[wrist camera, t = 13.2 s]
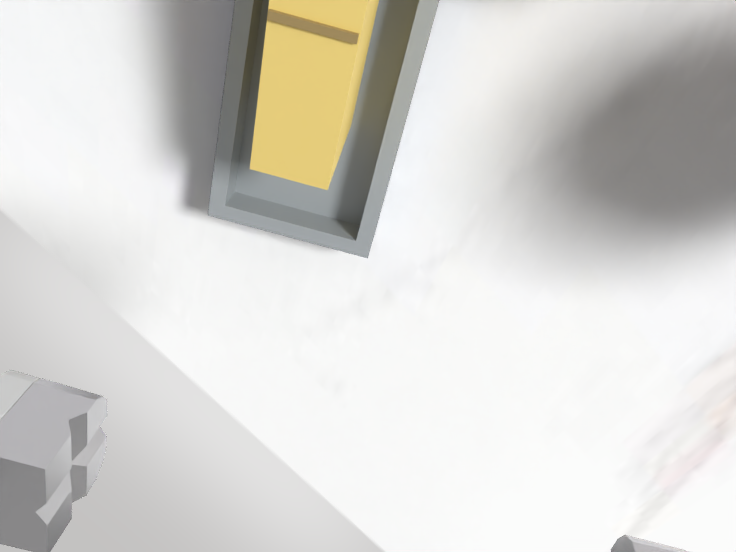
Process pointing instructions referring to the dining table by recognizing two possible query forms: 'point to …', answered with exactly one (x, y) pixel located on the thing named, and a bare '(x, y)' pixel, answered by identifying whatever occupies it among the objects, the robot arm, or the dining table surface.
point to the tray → (360, 151)
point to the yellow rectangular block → (309, 86)
